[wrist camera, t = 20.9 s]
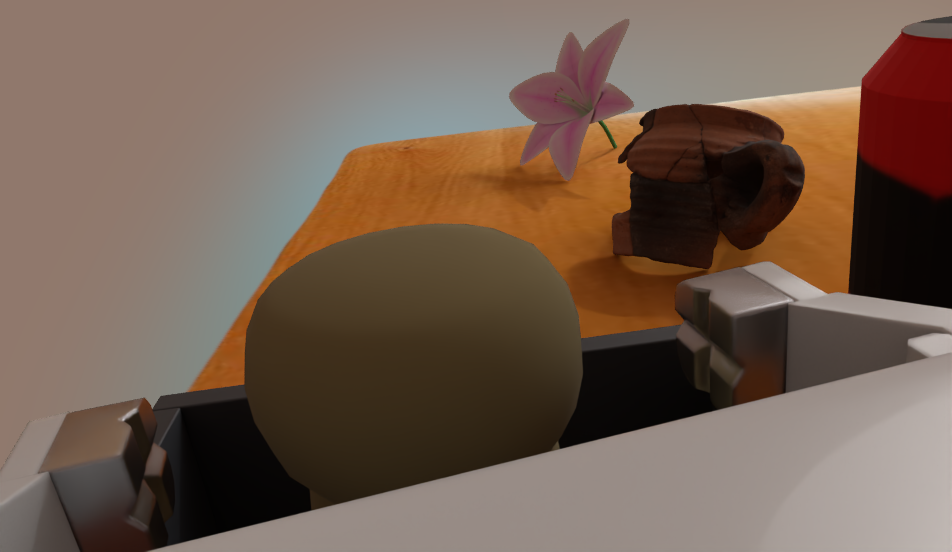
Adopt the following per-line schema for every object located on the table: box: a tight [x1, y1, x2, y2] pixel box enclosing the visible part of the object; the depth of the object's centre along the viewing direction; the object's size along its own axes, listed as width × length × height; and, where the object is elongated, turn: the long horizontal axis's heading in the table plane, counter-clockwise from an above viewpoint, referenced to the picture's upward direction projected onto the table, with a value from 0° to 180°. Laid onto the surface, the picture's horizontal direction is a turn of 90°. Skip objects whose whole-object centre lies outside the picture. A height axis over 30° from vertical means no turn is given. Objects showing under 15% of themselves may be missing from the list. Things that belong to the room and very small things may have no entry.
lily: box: [509, 19, 634, 181], centre depth 59 cm, size 12×12×10 cm
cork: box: [244, 224, 583, 511], centre depth 14 cm, size 6×6×11 cm
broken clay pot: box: [612, 104, 805, 269], centre depth 40 cm, size 12×10×8 cm
